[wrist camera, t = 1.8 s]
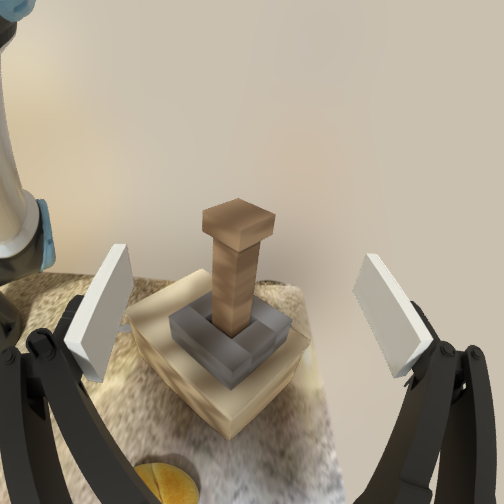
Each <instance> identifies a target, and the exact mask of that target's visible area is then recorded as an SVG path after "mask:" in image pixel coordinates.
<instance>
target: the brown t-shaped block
mask: <svg viewBox="0 0 504 504" xmlns="http://www.w3.org/2000/svg"><path fill="white" fill-rule="evenodd" d="M274 221H275V214H273V213H271V212H269V211H266V210H264V209H262V208H260V207H257V206H255V205H253V204H250V203H248V202H246V201H243V200H241V199H239V198H238V199H235V200H232V201H229V202H226V203H223V204H220V205H217V206H214V207H212V208H209V209H206V210H204V211H203V225H202V229H203V230H202V231H203V232H205V233H206V234H208V235H210V236H212V237H213V271H212V272H213V273H212V325H214V326H215V327H216V328H217V329H219V330H220V331H221V332H223V333H224V334H225V335H226V336H228V337H229V338H230V339H233V338H234V337H235V336H237V335H238V334H239V333H241V332H242V331H243V330H244V329H246V328H247V327H248V326H249V321H250V314H251V307H252V300H253V293H254V285H255V278H256V271H257V263H258V256H259V249H260V241H261V240H263V239H265V238H267V237H269V236H271V235H272V234H273V227H274Z"/></svg>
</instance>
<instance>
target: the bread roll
mask: <svg viewBox="0 0 504 504" xmlns="http://www.w3.org/2000/svg"><path fill="white" fill-rule="evenodd" d="M134 470H135V471H136V472H137V474H138V475H139V476H140V477H141V479H142V480H143V481H144V483H145V484H146V485H147V486H148V488H149V489H150V490H151V491H152V492H153V494H154V495H155V496H156V497H157V498H158V500H159V501H160V502H161V503H162V504H198V500H199V491H198V488H197V486H196V484H195V482H194V481H193V480H192V478H191V477H190V476H189V475H188V474H187V473H185V472H184V471H183V470H181V469H179V468H177V467H175V466H172V465H169V464H166V463H149V464H142V465H139V466H136V467H134Z"/></svg>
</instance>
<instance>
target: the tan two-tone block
mask: <svg viewBox="0 0 504 504" xmlns="http://www.w3.org/2000/svg"><path fill="white" fill-rule="evenodd" d="M124 313H125V316H126V317H127V318H128V320H129V321H130V325H131V328H132V332H133V335H134V338H135V341H136V344H137V348H138V351H139V354H140V355H141V356H142V357H143V358H144V359H145V361H146V362H147V363H148V364H149V365H150V366H151V367H152V368H153V370H154V371H155V372H156V373H157V374H158V375H159V376H160V377H161V378H162V379H163V380H164V381H165V382H166V384H167V385H168V386H169V387H170V388H171V389H172V390H173V391H174V392H175V393H176V394H177V395H178V396H179V397H180V398H181V399H182V400H183V401H184V402H185V403H186V404H187V405H188V406H189V407H191V408H192V409H193V410H194V411H195V412H196V413H197V414H198V415H199V416H200V417H201V418H202V419H203V420H205V421H206V422H207V423H208V424H209V425H210V426H211V427H212V428H214V429H215V430H216V431H217V432H218V433H219V434H221V435H222V436H223V437H224V438H225V439H227V440H228V441H230V440H231V439H232V438H233V437H234V436H235V435H236V434H238V433H239V432H240V431H241V430H242V429H243V428H244V427H245V426H246V425H247V424H248V423H250V422H251V421H252V420H253V419H254V418H255V417H256V416H257V415H258V414H259V413H260V412H261V411H262V410H263V409H264V408H265V407H266V406H267V405H268V404H269V403H270V402H271V401H272V400H273V399H274V398H275V397H276V396H277V395H278V394H279V393H280V392H281V391H282V390H283V389H284V388H285V387H286V386H287V384H288V383H289V382H290V381H291V380H292V378H293V375H294V373H295V370H296V368H297V366H298V363H299V361H300V358H301V356H302V353H303V351H304V350H305V349H306V348H307V347H308V345H309V343H310V339H308V338H307V337H305V336H303V335H302V334H300V333H299V332H297V331H295V330H294V329H292V328H291V327H290V326H291V323H292V319H291V318H289V317H288V316H286V315H285V314H283V313H281V312H280V311H278V310H277V309H275V308H273V307H272V306H270V305H269V304H267V303H266V302H264V301H262V300H261V299H259V298H258V297H256V296H255V295H253V300H252V307H251V314H250V321H249V326H248V327H247V328H246V329H244V330H243V331H242V332H241V333H239V334H238V335H237V336H235V337H234V338H233V339H230V338H229V337H228V336H226V335H225V334H224V333H223V332H221V331H220V330H219V329H217V328H216V327H215V326H214V325H212V275H211V274H209V273H208V272H206V271H205V270H204V269H200V270H197V271H196V272H194V273H192V274H190V275H188V276H186V277H184V278H182V279H180V280H178V281H177V282H175V283H173V284H171V285H169V286H167V287H165V288H163V289H161V290H159V291H158V292H156V293H154V294H152V295H150V296H148V297H146V298H144V299H142V300H141V301H139V302H137V303H135V304H133V305H131V306H129V307H127V308H126V309H125V312H124Z"/></svg>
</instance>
